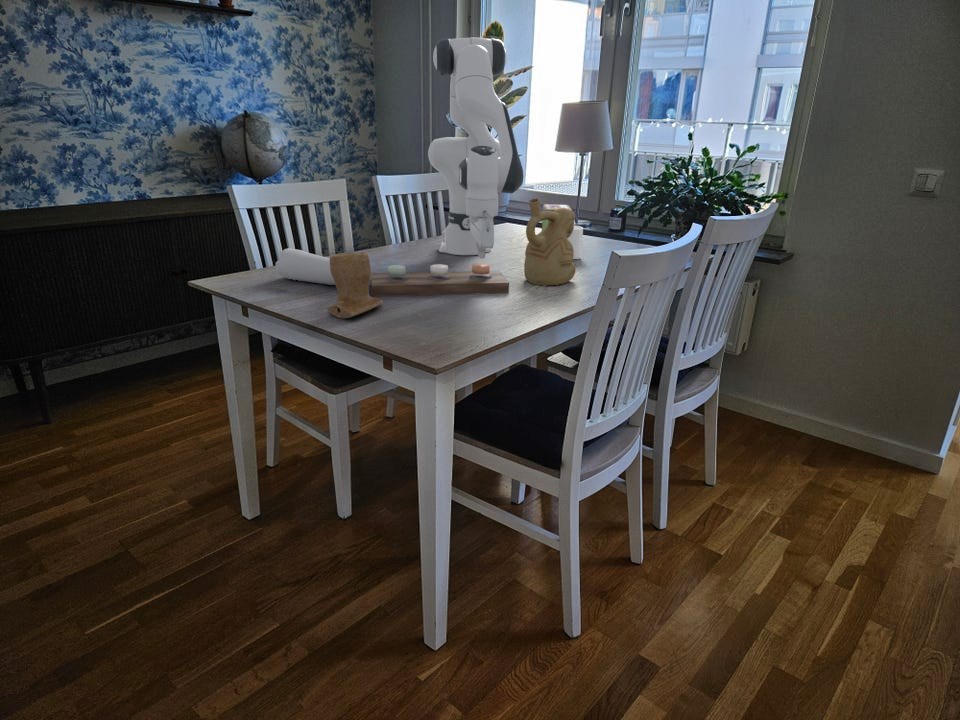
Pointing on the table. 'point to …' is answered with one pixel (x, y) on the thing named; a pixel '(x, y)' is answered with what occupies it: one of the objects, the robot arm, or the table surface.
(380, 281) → the button panel
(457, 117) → the robot arm
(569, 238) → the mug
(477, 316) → the table surface
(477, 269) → the button terracotta
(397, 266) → the button sage
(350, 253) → the stone cup
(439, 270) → the button cream
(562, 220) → the ceramic vessel
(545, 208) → the tea box
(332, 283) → the bottle
